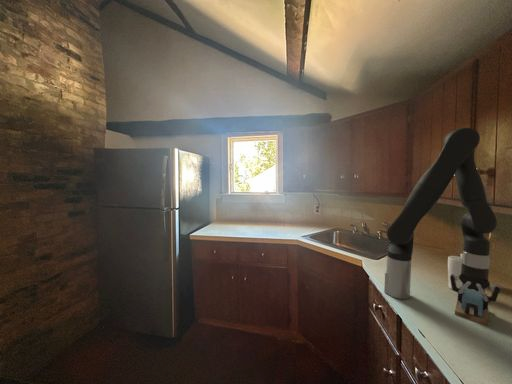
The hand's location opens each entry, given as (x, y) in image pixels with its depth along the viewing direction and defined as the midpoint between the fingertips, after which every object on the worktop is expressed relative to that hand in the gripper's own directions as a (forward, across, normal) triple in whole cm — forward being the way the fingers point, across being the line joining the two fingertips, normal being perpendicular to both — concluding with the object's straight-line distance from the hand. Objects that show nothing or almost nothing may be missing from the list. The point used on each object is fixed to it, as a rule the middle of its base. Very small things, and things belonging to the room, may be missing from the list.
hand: (472, 305), depth 86 cm
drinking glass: (+3, +6, -19) cm, 20 cm away
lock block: (+1, 0, 0) cm, 1 cm away
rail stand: (+3, 0, 0) cm, 3 cm away
